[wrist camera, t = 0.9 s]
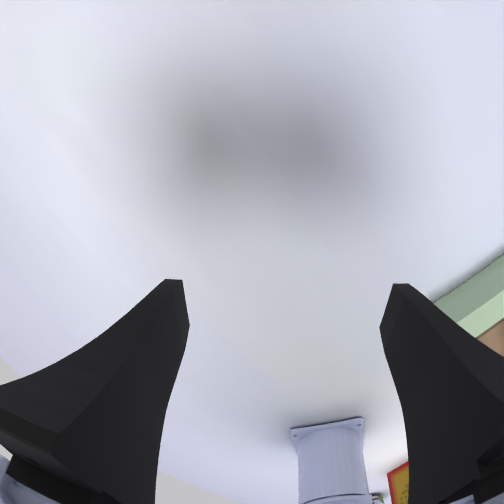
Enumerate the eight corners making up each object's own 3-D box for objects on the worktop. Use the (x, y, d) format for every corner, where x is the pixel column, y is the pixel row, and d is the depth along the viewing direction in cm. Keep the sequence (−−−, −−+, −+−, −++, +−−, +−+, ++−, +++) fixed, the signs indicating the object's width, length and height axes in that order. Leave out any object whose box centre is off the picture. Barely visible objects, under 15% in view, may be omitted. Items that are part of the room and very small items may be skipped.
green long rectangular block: (412, 340, 23) (425, 368, 20) (403, 318, 22) (416, 346, 19) (522, 264, 19) (544, 283, 16) (519, 238, 19) (543, 256, 15)
